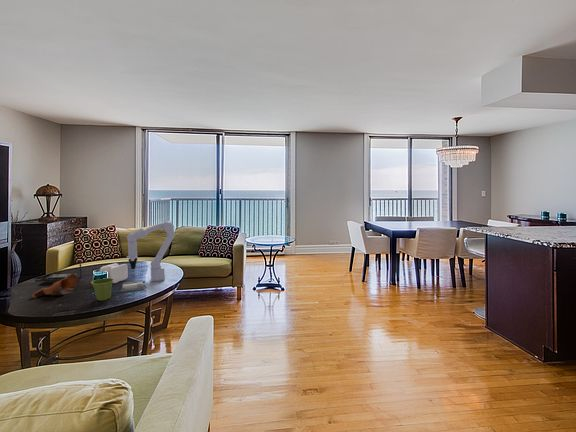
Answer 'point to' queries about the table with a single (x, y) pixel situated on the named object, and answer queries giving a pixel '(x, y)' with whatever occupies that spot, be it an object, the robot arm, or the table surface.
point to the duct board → (133, 288)
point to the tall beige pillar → (133, 285)
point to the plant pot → (103, 288)
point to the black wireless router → (61, 276)
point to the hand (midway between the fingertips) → (133, 268)
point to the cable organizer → (116, 271)
